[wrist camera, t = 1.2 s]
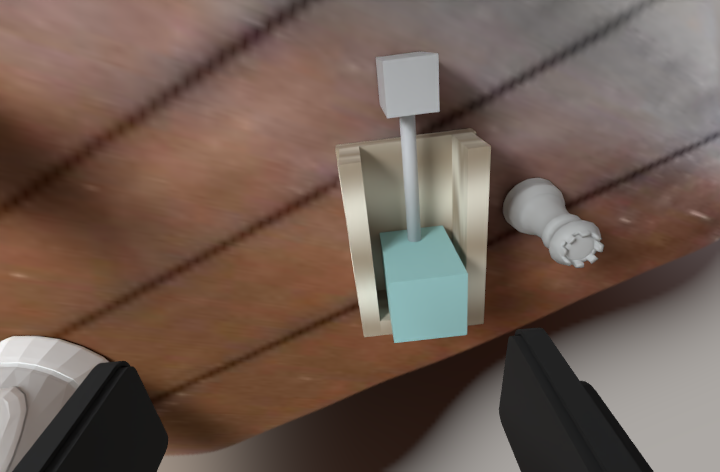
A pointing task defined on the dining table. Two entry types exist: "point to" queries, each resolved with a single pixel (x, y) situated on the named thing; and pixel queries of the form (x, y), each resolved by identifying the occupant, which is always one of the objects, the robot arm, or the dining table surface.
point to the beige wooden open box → (437, 207)
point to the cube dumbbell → (418, 217)
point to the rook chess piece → (552, 222)
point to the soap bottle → (36, 388)
